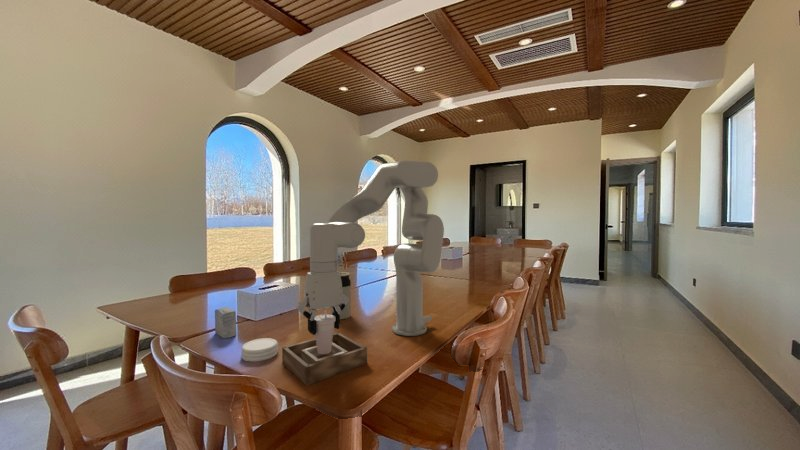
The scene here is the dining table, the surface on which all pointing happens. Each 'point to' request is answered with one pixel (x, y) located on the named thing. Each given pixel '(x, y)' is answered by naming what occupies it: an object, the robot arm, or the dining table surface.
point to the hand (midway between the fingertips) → (324, 329)
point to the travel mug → (346, 291)
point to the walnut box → (323, 358)
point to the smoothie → (324, 332)
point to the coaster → (259, 349)
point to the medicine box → (225, 322)
